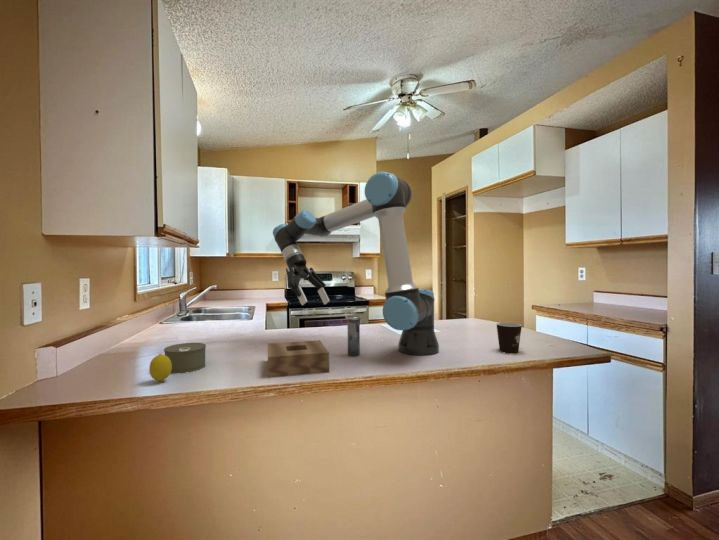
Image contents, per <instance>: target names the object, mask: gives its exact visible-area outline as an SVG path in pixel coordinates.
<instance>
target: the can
mask: <svg viewBox="0 0 719 540" xmlns="http://www.w3.org/2000/svg"><path fill="white" fill-rule="evenodd" d="M206 347H207V345H206V344H205V343H203V342H185V343H177V344H173V345H169V346H166V347H165V348H164V349H163V351H164V355H166V356H167V357H169V359H170V360H171V364H172V370H171V373H170V374H173V373H180V374H187V373H186V372H189V373H194V372H196V371H197V370H198V371H201V370H203V369H204V368H205V367H206ZM202 368H203V369H202ZM200 369H201V370H200ZM193 371H194V372H193ZM198 371H197V372H198Z"/></svg>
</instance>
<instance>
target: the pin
mask: <svg viewBox="0 0 719 540" xmlns="http://www.w3.org/2000/svg"><path fill="white" fill-rule="evenodd" d="M362 319H363V318H362V315H360V314H359V315H358V314H350V315H345V320H346V321H347V326H346V328H347V356H348V357H359V356H360V355H361V345H360V344H361V341H360V339H361V335H360V334H361V330H360V329H361V328H360V327H361V326H360V324H361V323H360V321H361V320H362Z"/></svg>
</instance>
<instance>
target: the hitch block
mask: <svg viewBox="0 0 719 540" xmlns="http://www.w3.org/2000/svg"><path fill="white" fill-rule="evenodd" d="M324 373H330V352H329V350H328V349H327V347H326V346H325V345H324V344H323V342H322V340H320V339H319V340H318V339H317V340H303V341H287V342H272V343H271V342H270V343H267V377H269V378H277V377H289V376H290V377H291V376H300V375H301V376H302V375H313V374H324Z"/></svg>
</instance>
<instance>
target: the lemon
mask: <svg viewBox="0 0 719 540" xmlns="http://www.w3.org/2000/svg"><path fill="white" fill-rule="evenodd" d="M148 368H149V369H148V371H149V375H150V377H151V378H152V379H153V380H157V381H158V382H159V383H161V382H163V381H164V380H166V379H167V378H168V377H169V376H170V375H171V374H172V373H171V370H172V364H171V360H170V359H169V357H167V356H166V355H165V354H163V353H159V354H157V355H156V356H154V357H153V358H152V359H151V361H150V363H149V367H148Z"/></svg>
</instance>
